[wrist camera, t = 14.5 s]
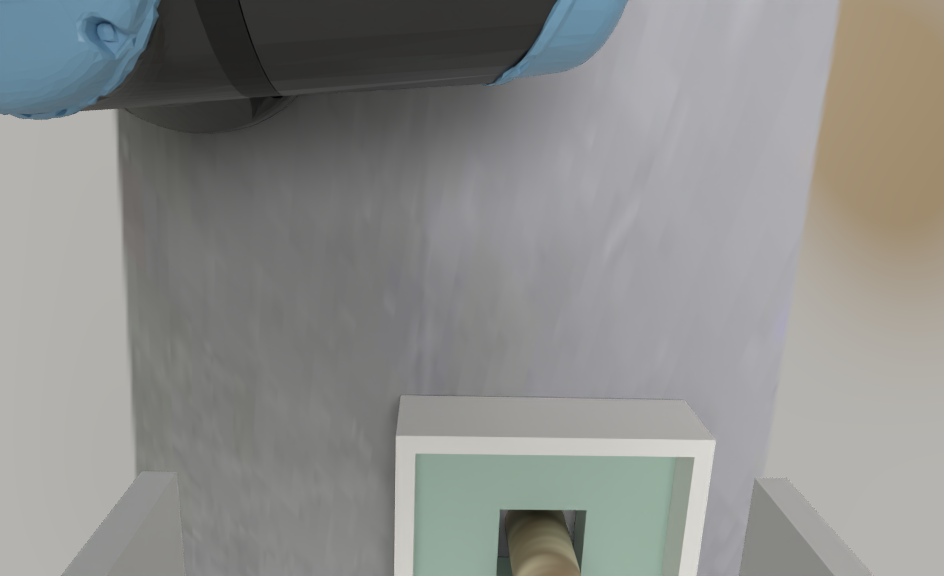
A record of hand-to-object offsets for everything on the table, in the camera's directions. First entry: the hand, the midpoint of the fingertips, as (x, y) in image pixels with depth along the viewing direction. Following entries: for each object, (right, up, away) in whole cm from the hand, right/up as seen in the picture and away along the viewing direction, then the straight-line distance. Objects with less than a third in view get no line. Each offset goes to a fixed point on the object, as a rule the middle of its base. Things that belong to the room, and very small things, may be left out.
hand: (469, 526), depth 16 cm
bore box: (+5, -12, +37) cm, 39 cm away
